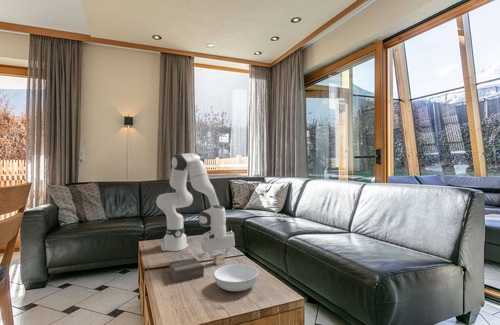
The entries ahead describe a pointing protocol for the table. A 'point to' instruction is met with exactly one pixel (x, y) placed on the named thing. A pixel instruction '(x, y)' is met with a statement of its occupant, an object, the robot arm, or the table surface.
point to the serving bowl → (236, 277)
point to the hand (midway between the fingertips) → (219, 256)
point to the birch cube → (219, 259)
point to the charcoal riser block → (186, 270)
